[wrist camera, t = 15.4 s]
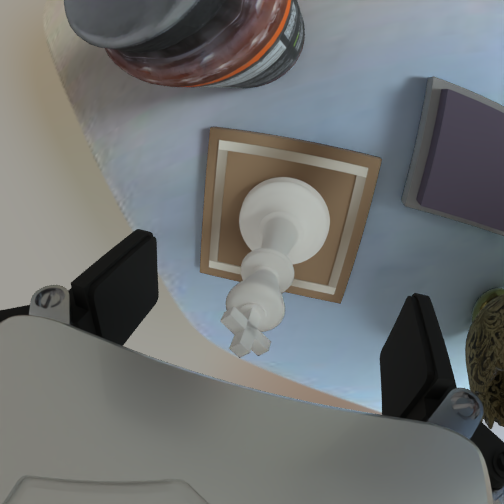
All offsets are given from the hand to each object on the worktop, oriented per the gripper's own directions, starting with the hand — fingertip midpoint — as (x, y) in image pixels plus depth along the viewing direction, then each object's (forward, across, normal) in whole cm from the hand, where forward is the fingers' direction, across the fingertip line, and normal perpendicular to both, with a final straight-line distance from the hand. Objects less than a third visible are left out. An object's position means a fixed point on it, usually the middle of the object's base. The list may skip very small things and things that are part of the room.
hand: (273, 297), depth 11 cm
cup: (+8, -15, +3) cm, 17 cm away
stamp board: (+8, +1, 0) cm, 8 cm away
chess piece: (+7, +1, 0) cm, 7 cm away
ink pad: (+8, -9, -6) cm, 13 cm away
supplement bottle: (+8, +4, -10) cm, 13 cm away
